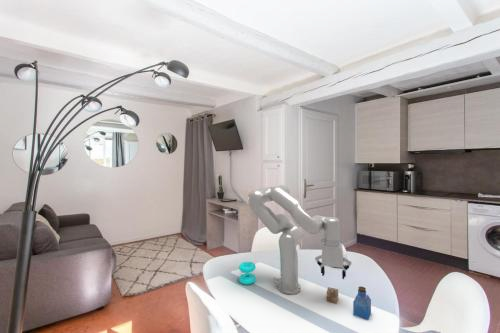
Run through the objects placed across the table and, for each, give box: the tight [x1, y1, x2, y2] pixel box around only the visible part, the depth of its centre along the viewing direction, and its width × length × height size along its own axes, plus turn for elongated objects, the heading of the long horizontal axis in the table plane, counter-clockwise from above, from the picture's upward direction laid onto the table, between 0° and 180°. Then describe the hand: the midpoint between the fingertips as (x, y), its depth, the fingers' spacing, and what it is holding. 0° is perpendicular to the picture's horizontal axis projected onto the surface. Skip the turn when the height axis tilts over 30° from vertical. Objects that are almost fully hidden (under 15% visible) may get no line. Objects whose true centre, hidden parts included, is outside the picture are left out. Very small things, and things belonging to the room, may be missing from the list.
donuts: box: [238, 261, 257, 286], centre depth 145 cm, size 10×10×10 cm
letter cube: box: [326, 286, 339, 305], centre depth 124 cm, size 5×5×5 cm
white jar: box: [340, 243, 348, 266], centre depth 165 cm, size 13×13×14 cm
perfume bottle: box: [352, 286, 372, 321], centre depth 113 cm, size 6×6×12 cm
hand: (333, 276), depth 124 cm, fingers open, 9 cm apart
